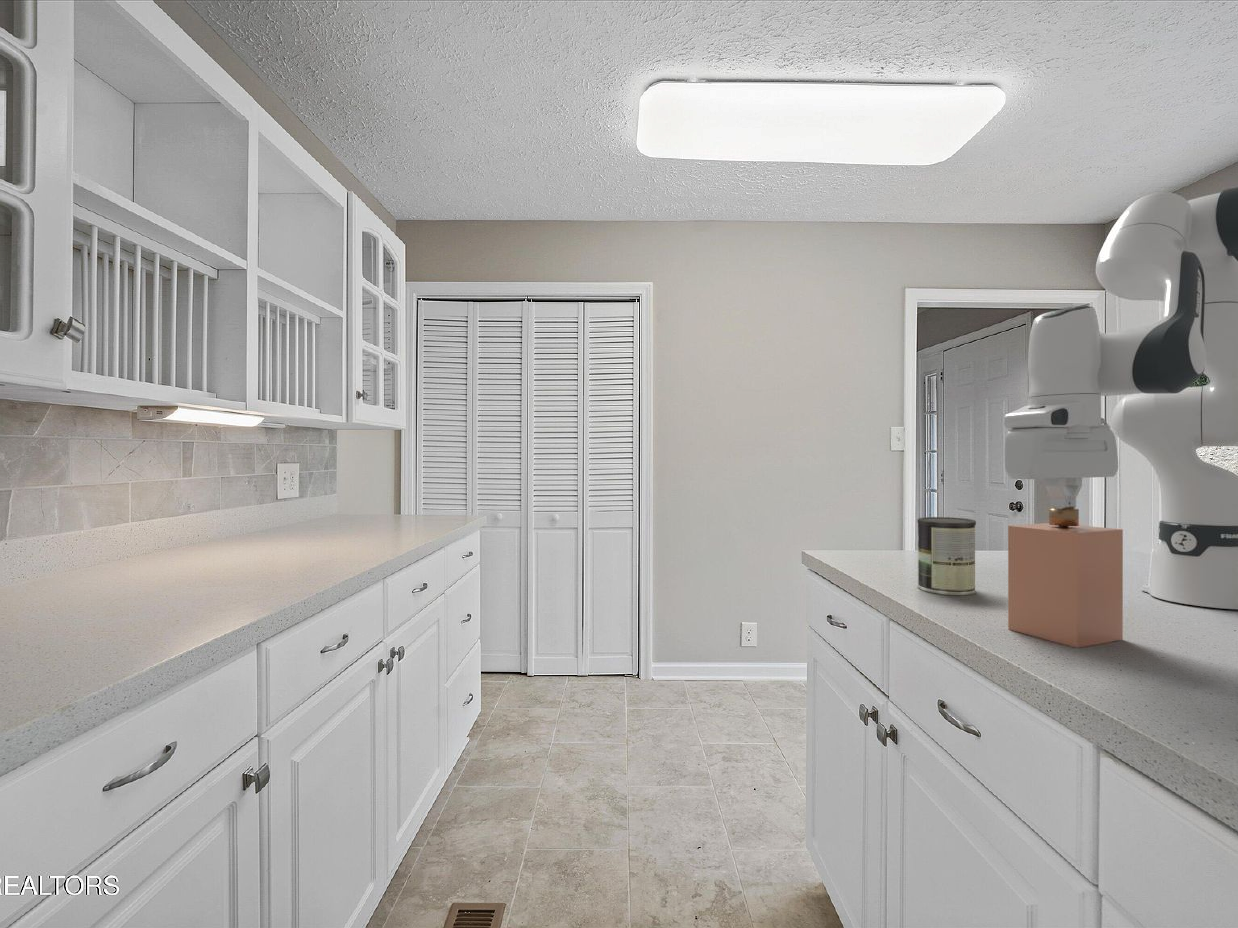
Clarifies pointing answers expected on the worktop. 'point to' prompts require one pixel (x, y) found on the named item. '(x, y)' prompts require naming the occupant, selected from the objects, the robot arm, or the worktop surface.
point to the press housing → (1066, 583)
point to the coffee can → (946, 555)
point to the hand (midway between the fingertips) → (1063, 508)
